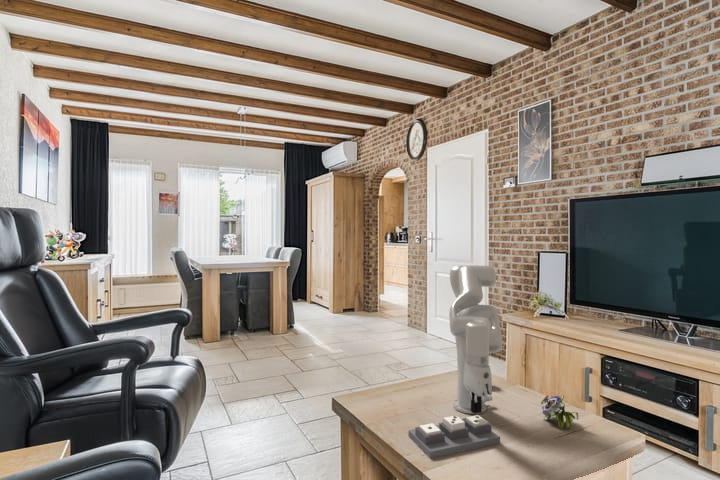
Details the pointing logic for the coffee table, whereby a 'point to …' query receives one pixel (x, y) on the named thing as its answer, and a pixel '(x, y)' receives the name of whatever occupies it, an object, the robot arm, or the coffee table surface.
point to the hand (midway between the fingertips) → (476, 411)
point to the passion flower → (557, 410)
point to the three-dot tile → (453, 423)
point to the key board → (454, 439)
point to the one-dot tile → (429, 429)
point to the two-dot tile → (476, 420)
